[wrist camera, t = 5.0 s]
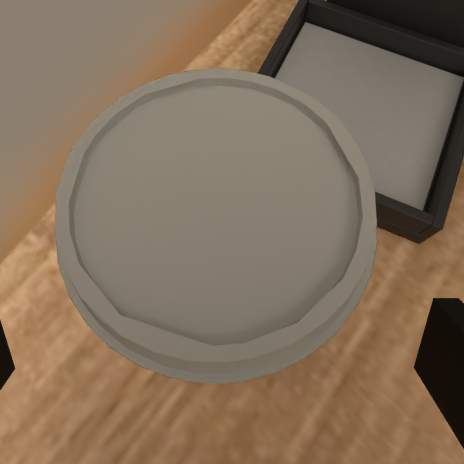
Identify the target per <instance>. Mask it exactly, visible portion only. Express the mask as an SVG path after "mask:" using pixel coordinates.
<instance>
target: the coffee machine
mask: <svg viewBox="0 0 464 464" xmlns="http://www.w3.org/2000/svg"><path fill="white" fill-rule="evenodd" d="M258 74H261V75H266V76H270V77H272V78H274V79H276V80H278V81H281V82H283V83H285V84H287V85H289V86H291V87H294V88H296V89H298V90H300V91H302V92H304V93H306V94H308V95H310V96H311V97H312V98H314V99H315V100H316V101H318V102H319V103H320V104H321V105H323V106H324V107H325V108H327V109H328V110H329V111H330V112H331V113H332V114H333V115H334V116H335V117H336V118H337V119H338V120H339V121H340V122H341V123H342V124H343V125H344V127H345V128H346V129H347V130H348V132H349V133H350V135H351V136H352V138H353V139H354V141H355V142H356V144H357V145H358V147H359V149H360V151H361V153H362V155H363V157H364V159H365V161H366V163H367V166H368V169H369V173H370V176H371V180H372V183H373V187H374V190H375V202H376V218H377V226H378V227H380V228H383V229H385V230H387V231H390V232H392V233H395V234H397V235H399V236H402V237H404V238H407V239H409V240H411V241H414V242H416V243H419V244H420V243H421V242H423V241H424V240H426V239H427V238H429V237H431V236H432V235H434V234H435V233H437V232H439V231H440V230H442V229H443V226H444V223H445V219H446V216H447V212H448V209H449V205H450V202H451V198H452V195H453V191H454V188H455V184H456V181H457V177H458V174H459V170H460V167H461V163H462V160H463V156H464V0H327V1H324V0H299V1H298V3H297V5H296V7H295V8H294V10H293V12H292V14H291V15H290V17H289V19H288V21H287V22H286V24H285V26H284V28H283V29H282V31H281V33H280V35H279V37H278V38H277V40H276V42H275V44H274V45H273V47H272V49H271V51H270V52H269V54H268V56H267V58H266V59H265V61H264V63H263V65H262V67H261V68H260V70H259V72H258Z"/></svg>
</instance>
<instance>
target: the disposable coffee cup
mask: <svg viewBox="0 0 464 464" xmlns="http://www.w3.org/2000/svg"><path fill="white" fill-rule="evenodd" d="M55 237H56V245H57V259H58V265H59V268H60V271H61V274H62V276H63V279H64V282H65V285H66V288H67V291H68V294H69V297H70V298H71V300H72V302H73V303H74V305H75V306H76V308H77V309H78V311H79V313H80V314H81V316H82V317H83V319H84V320H85V322H86V324H87V325H88V326H89V327H90V328H91V329H92V330H93V331H94V332H95V333H96V334H97V335H98V336H99V337H100V338H101V339H102V340H103V341H104V342H105V343H106V344H107V345H108V346H109V347H110V348H111V349H113V350H115V351H116V352H118V353H119V354H121V355H122V356H124V357H125V358H127V359H129V360H130V361H132V362H133V363H135V364H136V365H138V366H141V367H143V368H146V369H148V370H151V371H153V372H155V373H158V374H160V375H163V376H166V377H171V378H176V379H181V380H186V381H190V382H195V383H215V384H223V383H231V382H240V381H247V380H251V379H255V378H258V377H262V376H266V375H270V374H273V373H277V372H279V371H281V370H283V369H285V368H287V367H289V366H291V365H293V364H294V363H296V362H298V361H300V360H302V359H304V358H306V357H308V356H309V355H311V354H312V353H313V352H314V351H315V350H317V349H318V348H319V347H320V346H322V345H323V344H324V343H325V342H327V341H328V340H329V339H330V338H331V337H333V336H334V335H335V334H336V333H337V332H338V330H339V329H340V328H341V326H342V325H343V324H344V322H345V321H346V320H347V318H348V317H349V316H350V314H351V313H352V312H353V310H354V309H355V308H356V306H357V305H358V303H359V301H360V299H361V297H362V294H363V292H364V290H365V288H366V285H367V283H368V281H369V279H370V276H371V272H372V267H373V263H374V258H375V253H376V247H377V218H376V202H375V190H374V187H373V183H372V180H371V176H370V173H369V169H368V166H367V163H366V161H365V159H364V157H363V155H362V153H361V151H360V149H359V147H358V145H357V144H356V142H355V141H354V139H353V138H352V136H351V135H350V133H349V132H348V130H347V129H346V128H345V127H344V125H343V124H342V123H341V122H340V121H339V120H338V119H337V118H336V117H335V116H334V115H333V114H332V113H331V112H330V111H329V110H328V109H327V108H325V107H324V106H323V105H321V104H320V103H319V102H318V101H316V100H315V99H314V98H312V97H311V96H310V95H308V94H306V93H304V92H302V91H300V90H298V89H296V88H294V87H291V86H289V85H287V84H285V83H283V82H281V81H278V80H276V79H274V78H272V77H270V76H266V75H261V74H257V73H253V72H249V71H242V70H233V69H223V68H216V69H204V70H192V71H185V72H181V73H176V74H172V75H168V76H164V77H161V78H159V79H156V80H153V81H151V82H148V83H146V84H144V85H142V86H140V87H138V88H136V89H134V90H133V91H131V92H129V93H127V94H125V95H123V96H121V97H120V98H119V99H118V100H116V102H114V103H113V104H112V105H110V106H109V107H108V108H107V109H106V110H104V111H103V112H102V113H101V114H100V115H98V116H97V117H96V118H95V119H94V120H93V121H92V123H91V124H90V125H89V127H88V128H87V129H86V131H85V132H84V133H83V135H82V136H81V137H80V139H79V140H78V141H77V143H76V144H75V145H74V147H73V148H72V149H71V151H70V154H69V157H68V160H67V162H66V165H65V168H64V171H63V173H62V176H61V179H60V181H59V184H58V187H57V190H56V212H55Z"/></svg>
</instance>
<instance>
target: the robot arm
mask: <svg viewBox="0 0 464 464" xmlns="http://www.w3.org/2000/svg"><path fill="white" fill-rule="evenodd" d="M414 369H415V370H416V372H417V374H418V375H419V377H420V378H421V380H422V382H423V383H424V385H425V387H426V388H427V390H428V391H429V393H430V395H431V396H432V398H433V400H434V401H435V403H436V404H437V406H438V408H439V409H440V411H441V413H442V414H443V416H444V418H445V419H446V421H447V422H448V424H449V426H450V427H451V429H452V431H453V432H454V434H455V435H456V437H457V439H458V440H459V442H460V444H461V445H462V447H463V448H464V303H463V302H462V301H461V300H460V299H459V298H433V301H432V305H431V308H430V312H429V315H428V319H427V322H426V326H425V329H424V333H423V337H422V340H421V344H420V347H419V351H418V354H417V358H416V361H415V365H414ZM14 370H15V366H14V363H13V360H12V356H11V353H10V350H9V347H8V343H7V340H6V337H5V334H4V330H3V327H2V324H1V321H0V390H1V389H2V387H3V386H4V384H5V383H6V381H7V380H8V378H9V377H10V375H11V374H12V373H13V371H14Z"/></svg>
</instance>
